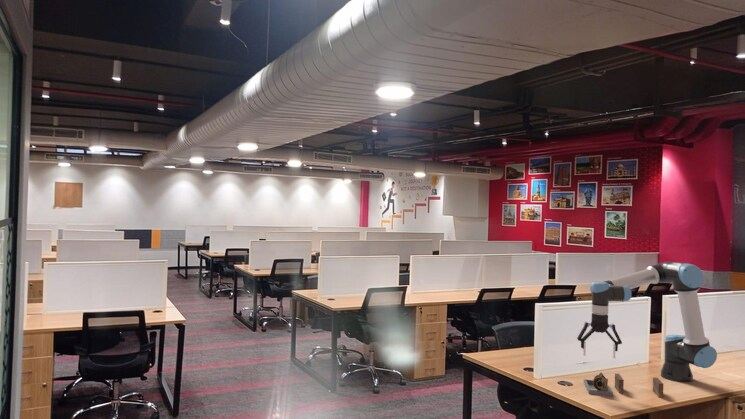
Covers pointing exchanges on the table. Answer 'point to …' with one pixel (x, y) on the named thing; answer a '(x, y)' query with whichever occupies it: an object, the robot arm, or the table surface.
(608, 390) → the tray
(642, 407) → the table surface
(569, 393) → the table surface
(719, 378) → the table surface
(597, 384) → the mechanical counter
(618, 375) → the cradle
